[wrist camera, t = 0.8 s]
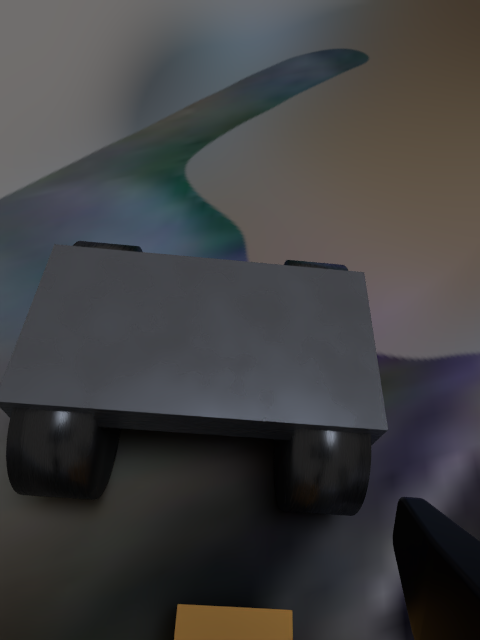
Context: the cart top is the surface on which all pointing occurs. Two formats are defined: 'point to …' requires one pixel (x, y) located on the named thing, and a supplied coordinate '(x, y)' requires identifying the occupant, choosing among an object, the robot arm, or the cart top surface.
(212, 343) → the trolley
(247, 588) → the cart top surface
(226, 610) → the block
